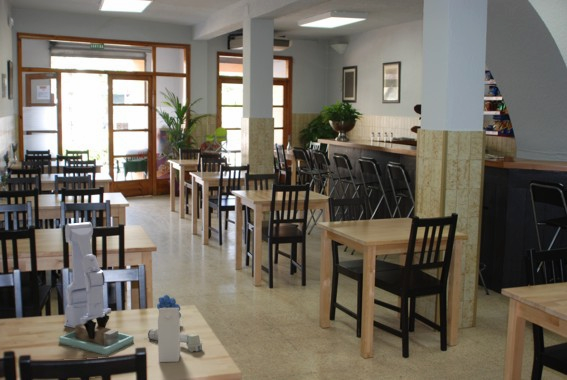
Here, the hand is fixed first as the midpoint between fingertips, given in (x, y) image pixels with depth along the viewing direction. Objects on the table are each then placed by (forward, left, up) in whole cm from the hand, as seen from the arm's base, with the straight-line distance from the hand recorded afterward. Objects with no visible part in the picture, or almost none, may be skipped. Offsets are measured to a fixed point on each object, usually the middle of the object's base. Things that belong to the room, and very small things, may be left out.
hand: (96, 336), depth 245 cm
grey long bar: (+28, +14, -3) cm, 31 cm away
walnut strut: (0, 0, -2) cm, 2 cm away
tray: (0, 0, -3) cm, 3 cm away
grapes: (+10, +31, -3) cm, 33 cm away
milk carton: (+34, +2, -3) cm, 34 cm away
